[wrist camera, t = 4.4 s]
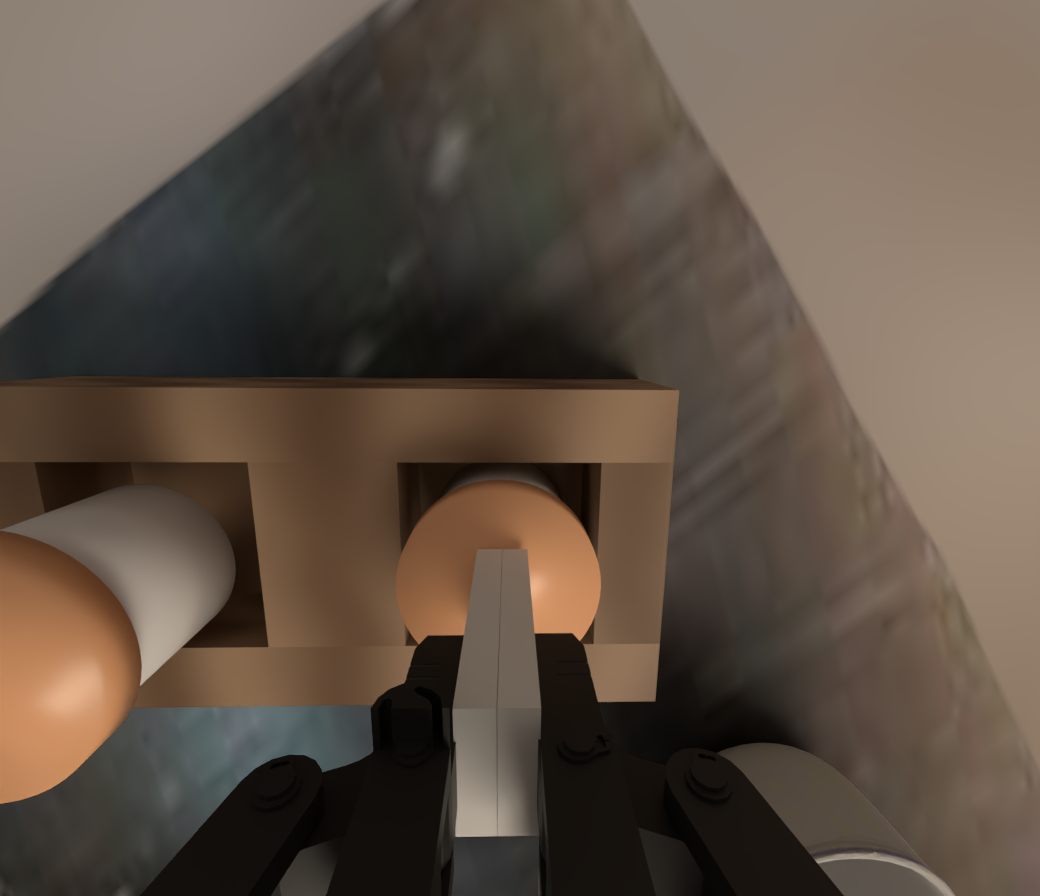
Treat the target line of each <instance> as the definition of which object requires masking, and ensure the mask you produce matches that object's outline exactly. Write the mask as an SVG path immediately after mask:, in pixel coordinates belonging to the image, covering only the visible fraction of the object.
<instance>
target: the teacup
mask: <svg viewBox="0 0 1040 896" xmlns="http://www.w3.org/2000/svg"><path fill="white" fill-rule="evenodd" d="M717 754H719V755H721V756H723V757H725V758H726V759H728V760H730V761H731V762H732V763H733V764H734V765H736V766H737V767H738V768H739V769H740V770H741V771H742V772H743V773H744V774H745V775H746V777H747V778H748V779H749V780H750V782H751V783H752V784H753V785H754V786H755V788H756V789H757V790H758V791H759V793H760V794H761V795H762V796H763V797H764V799H765V800H766V801H767V802H768V804H769V805H770V806H771V807H772V808H773V810H774V811H775V812H776V813H777V815H778V816H779V817H780V818H781V819H782V821H783V822H784V823H785V824H786V825H787V827H788V828H789V829H790V830H791V832H792V833H793V834H794V835H795V836H796V838H797V839H798V840H799V841H800V843H801V844H802V845H803V846H804V847H805V849H806V850H807V851H808V852H809V854H810V855H811V856H812V857H813V858H814V860H815V861H816V862H817V863H818V865H819V866H820V867H821V868H822V869H823V871H824V872H825V873H826V874H827V875H828V877H829V878H830V879H831V880H832V882H833V883H834V884H835V885H836V886H837V888H838V889H839V890H840V891H841V893H842V894H843V895H844V896H956V895H955V893H954V892H953V891H952V890H951V889H950V888H949V886H948V885H947V884H946V882H945V881H944V880H943V879H942V878H941V877H940V876H939V875H938V874H936V873H935V872H934V871H933V870H932V869H931V868H929V867H928V866H927V865H925V863H924V862H923V861H922V860H921V859H920V858H919V856H918V855H917V854H916V853H915V852H914V851H913V850H912V848H911V847H910V846H909V845H908V844H907V843H906V841H905V840H904V839H903V838H902V837H901V836H900V835H899V833H898V832H897V831H896V830H895V829H894V828H893V827H892V826H891V825H890V824H889V822H888V821H887V820H886V819H885V818H884V817H883V816H882V815H881V814H880V813H879V811H878V810H877V809H876V808H875V807H874V806H873V805H872V804H871V803H870V802H869V801H868V800H867V799H866V798H865V797H864V796H863V794H862V793H861V792H860V791H859V790H858V789H857V788H856V787H855V786H854V785H853V784H852V783H851V782H850V781H849V780H847V779H846V778H845V777H844V776H843V775H842V774H841V773H839V772H838V771H837V770H836V769H835V768H833V767H832V766H830V765H829V764H827V763H826V762H825V761H823V760H822V759H820V758H818V757H816V756H814V755H812V754H810V753H808V752H806V751H803V750H800V749H798V748H795V747H792V746H787V745H782V744H776V743H751V744H743V745H739V746H735V747H731V748H727V749H725V750H723V751H720V752H718V753H717Z"/></svg>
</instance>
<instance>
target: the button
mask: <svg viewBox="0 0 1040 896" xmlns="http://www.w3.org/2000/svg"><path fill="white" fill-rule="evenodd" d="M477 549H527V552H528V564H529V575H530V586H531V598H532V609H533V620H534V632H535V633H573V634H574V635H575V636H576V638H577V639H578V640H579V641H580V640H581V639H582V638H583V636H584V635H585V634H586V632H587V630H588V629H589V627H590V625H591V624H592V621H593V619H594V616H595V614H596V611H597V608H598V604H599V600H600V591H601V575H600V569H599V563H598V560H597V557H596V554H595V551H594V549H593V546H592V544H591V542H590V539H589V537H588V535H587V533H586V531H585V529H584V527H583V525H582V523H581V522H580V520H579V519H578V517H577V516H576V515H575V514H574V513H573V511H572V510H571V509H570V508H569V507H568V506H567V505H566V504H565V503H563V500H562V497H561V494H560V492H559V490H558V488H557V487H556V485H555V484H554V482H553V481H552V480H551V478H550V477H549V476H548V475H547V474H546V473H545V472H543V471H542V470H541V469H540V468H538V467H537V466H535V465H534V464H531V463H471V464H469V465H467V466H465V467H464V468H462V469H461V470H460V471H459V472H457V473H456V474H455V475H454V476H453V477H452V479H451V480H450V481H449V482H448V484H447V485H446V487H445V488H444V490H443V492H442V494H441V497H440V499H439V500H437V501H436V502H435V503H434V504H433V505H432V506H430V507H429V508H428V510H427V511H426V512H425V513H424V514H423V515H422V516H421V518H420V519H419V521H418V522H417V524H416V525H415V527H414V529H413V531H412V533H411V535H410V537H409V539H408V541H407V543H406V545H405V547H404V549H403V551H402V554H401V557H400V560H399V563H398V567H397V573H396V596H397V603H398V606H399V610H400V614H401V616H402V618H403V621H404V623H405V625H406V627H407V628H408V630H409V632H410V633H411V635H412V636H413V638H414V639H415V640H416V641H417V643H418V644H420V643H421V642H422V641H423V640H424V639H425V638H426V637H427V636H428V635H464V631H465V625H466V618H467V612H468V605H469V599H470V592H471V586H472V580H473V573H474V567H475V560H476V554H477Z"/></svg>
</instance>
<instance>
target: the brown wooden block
mask: <svg viewBox="0 0 1040 896" xmlns="http://www.w3.org/2000/svg"><path fill="white" fill-rule="evenodd" d="M678 400H679V390H677V389H673V388H669V387H666V386H662V385H658V384H654V383H651V382H647V381H643V380H640V379H486V378H315V377H143V376H69V377H56V378H43V379H29V380H16V381H2V382H0V530H1V529H4V528H7V527H10V526H12V525H15V524H18V523H21V522H23V521H26V520H29V519H31V518H34V517H37V516H40V515H42V514H45V513H48V512H50V511H53V510H56V509H59V508H61V507H64V506H67V505H69V504H72V503H75V502H78V501H80V500H83V499H86V498H89V497H91V496H94V495H97V494H99V493H102V492H105V491H108V490H110V489H113V488H116V487H120V486H125V485H132V484H149V485H156V486H162V487H165V488H169V489H172V490H175V491H177V492H179V493H182V494H184V495H186V496H188V497H189V498H191V499H193V500H195V501H196V502H197V503H199V504H200V505H201V506H203V507H204V508H205V509H206V510H207V511H208V512H209V513H211V514H212V515H213V517H214V518H215V519H216V520H217V521H218V522H219V524H220V525H221V527H222V528H223V530H224V531H225V533H226V535H227V537H228V539H229V541H230V544H231V546H232V549H233V553H234V558H235V567H236V574H235V582H234V586H233V590H232V592H231V595H230V597H229V599H228V601H227V602H226V604H225V606H224V607H223V608H222V609H221V610H220V612H219V613H218V614H217V615H216V616H215V617H214V618H212V619H211V620H210V621H209V622H208V623H207V624H206V625H205V626H204V627H203V628H202V629H201V630H200V631H199V632H197V633H196V634H195V635H194V636H193V637H192V638H191V639H190V640H189V641H188V642H187V643H186V644H185V645H184V646H182V647H181V648H180V649H179V650H178V651H177V652H176V653H175V654H174V655H173V656H172V657H171V658H170V659H169V660H167V661H166V662H165V663H164V664H163V665H162V666H161V667H160V668H159V669H158V670H157V671H156V672H155V673H154V674H152V675H151V676H150V677H149V678H148V679H147V680H146V681H145V682H144V683H143V684H142V685H141V686H140V687H139V692H138V695H137V698H136V700H135V703H134V706H133V708H159V707H239V706H319V705H373V704H374V703H375V701H376V700H377V698H378V697H380V696H381V695H382V694H383V693H385V692H386V691H387V690H389V689H391V688H393V687H396V686H398V685H400V684H403V683H405V680H406V676H407V673H408V670H409V667H410V663H411V660H412V657H413V654H414V650H415V648H416V647H417V646H418V645H419V644H418V643H417V641H416V640H415V639H414V638H413V636H412V635H411V633H410V632H409V630H408V628H407V627H406V625H405V623H404V621H403V618H402V616H401V614H400V610H399V606H398V603H397V596H396V573H397V567H398V563H399V560H400V557H401V554H402V551H403V549H404V547H405V545H406V543H407V541H408V539H409V537H410V535H411V533H412V531H413V529H414V527H415V525H416V524H417V522H418V521H419V519H420V518H421V516H422V515H423V514H424V513H425V512H426V511H427V510H428V508H429V507H430V506H432V505H433V504H434V503H435V502H436V501H437V500H439V499H440V497H441V494H442V492H443V490H444V488H445V487H446V485H447V484H448V482H449V481H450V480H451V479H452V477H453V476H454V475H455V474H456V473H457V472H459V471H460V470H461V469H462V468H464V467H465V466H467V465H469V464H471V463H531V464H534V465H535V466H537V467H538V468H540V469H541V470H542V471H543V472H545V473H546V474H547V475H548V476H549V477H550V478H551V480H552V481H553V482H554V484H555V485H556V487H557V488H558V490H559V492H560V494H561V497H562V500H563V503H565V504H566V505H567V506H568V507H569V508H570V509H571V510H572V511H573V513H574V514H575V515H576V516H577V517H578V519H579V520H580V522H581V523H582V525H583V527H584V529H585V531H586V533H587V535H588V537H589V539H590V542H591V544H592V546H593V549H594V551H595V554H596V557H597V560H598V563H599V569H600V575H601V591H600V600H599V604H598V608H597V611H596V614H595V616H594V619H593V621H592V624H591V625H590V627H589V629H588V630H587V632H586V634H585V635H584V636H583V638H582V639H581V640H580V642H581V643H582V644H583V645H584V648H585V652H586V656H587V660H588V664H589V668H590V672H591V677H592V680H593V684H594V688H595V692H596V696H597V700H598V702H639V701H655V699H656V686H657V673H658V660H659V647H660V634H661V621H662V608H663V595H664V582H665V569H666V556H667V543H668V530H669V517H670V504H671V491H672V478H673V465H674V452H675V439H676V426H677V413H678Z"/></svg>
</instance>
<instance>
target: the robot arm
mask: <svg viewBox="0 0 1040 896" xmlns="http://www.w3.org/2000/svg"><path fill="white" fill-rule="evenodd" d="M371 720H372V735H373V749H374V750H373V752H372V753H371V754H370V755H368V756H366V757H365V758H363V759H361V760H359V761H357V762H354V763H352V764H349V765H347V766H343V767H340V768H336V769H333V770H329V771H326V772H322V770H321V768H320V767H319V765H318V764H317V762H316V760H314V759H311V758H309V757H307V756H305V755H287V756H283V757H279V758H276V759H272V760H270V761H268V762H267V763H265V764H263V765H261V766H259V767H257V768H256V769H254V770H253V771H252V772H251V773H250V774H249V775H248V776H247V777H245V778H244V779H243V780H242V781H241V782H240V783H239V784H238V785H237V787H236V788H235V789H234V790H233V791H232V792H231V793H230V794H229V796H228V797H227V798H226V799H225V800H224V801H223V802H222V804H221V805H220V806H219V807H218V808H217V809H216V810H215V811H214V813H213V814H212V815H211V816H210V817H209V818H208V819H207V821H206V822H205V823H204V824H203V825H202V826H201V827H200V828H199V830H198V831H197V832H196V833H195V834H194V835H193V836H192V838H191V839H190V840H189V841H188V842H187V843H186V844H185V845H184V847H183V848H182V849H181V850H180V851H179V852H178V853H177V855H176V856H175V857H174V858H173V859H172V860H171V861H170V862H169V864H168V865H167V866H166V867H165V868H164V869H163V870H162V872H161V873H160V874H159V875H158V876H157V877H156V878H155V880H154V881H153V882H152V883H151V884H150V885H149V886H148V887H147V889H146V890H145V891H144V892H143V893H142V894H141V895H140V896H451V893H452V883H453V873H454V858H453V844H454V835H455V826H456V837H472V836H497V817H498V836H539V884H538V896H844V895H843V894H842V893H841V891H840V890H839V889H838V888H837V886H836V885H835V884H834V883H833V882H832V880H831V879H830V878H829V877H828V875H827V874H826V873H825V872H824V871H823V869H822V868H821V867H820V866H819V865H818V863H817V862H816V861H815V860H814V858H813V857H812V856H811V855H810V854H809V852H808V851H807V850H806V849H805V847H804V846H803V845H802V844H801V843H800V841H799V840H798V839H797V838H796V836H795V835H794V834H793V833H792V832H791V830H790V829H789V828H788V827H787V825H786V824H785V823H784V822H783V821H782V819H781V818H780V817H779V816H778V815H777V813H776V812H775V811H774V810H773V808H772V807H771V806H770V805H769V804H768V802H767V801H766V800H765V799H764V797H763V796H762V795H761V794H760V793H759V791H758V790H757V789H756V788H755V786H754V785H753V784H752V783H751V782H750V780H749V779H748V778H747V777H746V775H745V774H744V773H743V772H742V771H741V770H740V769H739V768H738V767H737V766H736V765H734V764H733V763H732V762H731V761H730V760H728V759H726V758H725V757H723V756H721V755H719V754H717V753H715V752H712V751H709V750H705V749H701V748H688V749H682V750H680V751H678V752H676V753H674V754H673V755H672V756H671V757H670V759H669V760H668V762H667V763H666V766H665V765H661V764H658V763H654V762H650V761H647V760H643V759H640V758H638V757H635V756H632V755H631V754H629V753H627V752H626V751H624V750H622V749H621V748H620V747H619V746H617V745H616V744H615V742H614V740H613V738H612V736H611V735H610V734H609V733H608V732H607V731H606V730H605V727H604V724H603V720H602V716H601V712H600V708H599V704H598V700H597V696H596V692H595V688H594V684H593V680H592V677H591V672H590V668H589V664H588V660H587V656H586V652H585V648H584V645H583V644H582V643H581V642H580V641H579V640H578V639H577V638H576V636H575V635H574V634H573V633H535V632H534V620H533V609H532V598H531V586H530V575H529V564H528V552H527V549H477V554H476V560H475V567H474V573H473V580H472V586H471V592H470V599H469V605H468V612H467V618H466V625H465V631H464V635H428V636H427V637H426V638H425V639H424V640H423V641H422V642H421V643H420V644H419V645H418V646H417V647H416V648H415V650H414V654H413V657H412V660H411V663H410V667H409V670H408V673H407V676H406V680H405V683H403V684H400V685H398V686H396V687H393V688H391V689H389V690H387V691H386V692H385V693H383V694H382V695H381V696H380V697H378V698H377V700H376V701H375V703H374V704H373V706H372V708H371Z"/></svg>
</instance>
